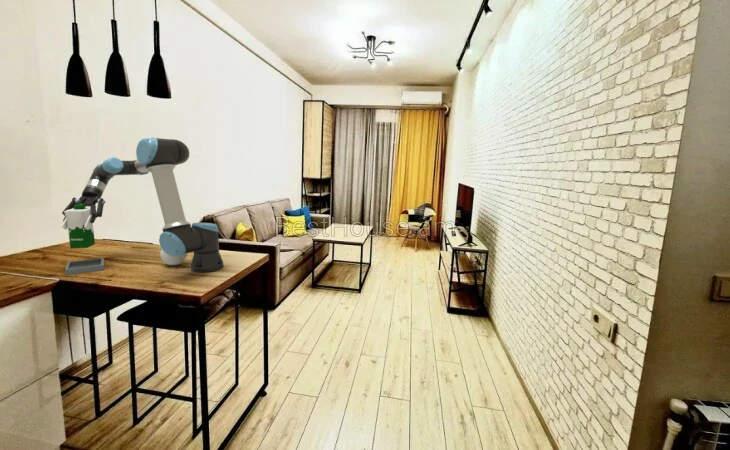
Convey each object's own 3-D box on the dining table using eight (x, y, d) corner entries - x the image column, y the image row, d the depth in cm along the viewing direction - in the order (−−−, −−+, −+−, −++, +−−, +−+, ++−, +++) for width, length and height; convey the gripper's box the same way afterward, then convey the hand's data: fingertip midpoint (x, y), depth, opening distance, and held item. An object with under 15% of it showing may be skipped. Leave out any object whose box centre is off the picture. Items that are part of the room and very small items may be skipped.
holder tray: (104, 269, 163) (103, 264, 163) (65, 274, 155) (64, 269, 154) (104, 262, 174) (103, 257, 173) (68, 266, 166) (67, 261, 165)
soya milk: (98, 243, 168) (93, 203, 164) (88, 248, 159) (83, 206, 155) (77, 244, 166) (71, 204, 162) (66, 249, 157) (60, 206, 153)
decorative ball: (171, 270, 166) (169, 246, 164) (155, 266, 171) (153, 243, 169) (192, 263, 177) (191, 241, 175) (177, 260, 182) (175, 238, 179)
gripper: (120, 195, 174) (104, 232, 162) (74, 194, 172) (55, 232, 159) (113, 186, 168) (96, 223, 156) (65, 185, 165) (44, 223, 153)
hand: (75, 228), depth 157 cm, fingers closed on soya milk, 9 cm apart
